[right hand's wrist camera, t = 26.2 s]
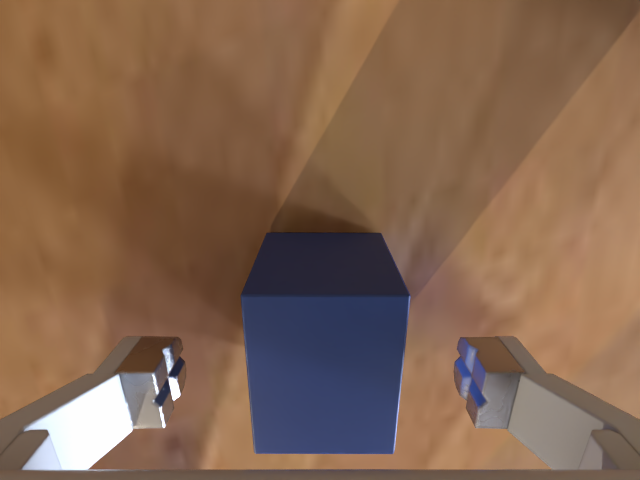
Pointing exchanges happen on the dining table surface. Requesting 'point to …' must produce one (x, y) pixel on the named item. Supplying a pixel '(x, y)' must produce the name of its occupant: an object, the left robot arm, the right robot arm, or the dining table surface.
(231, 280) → the dining table surface
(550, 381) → the right robot arm
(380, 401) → the brick
